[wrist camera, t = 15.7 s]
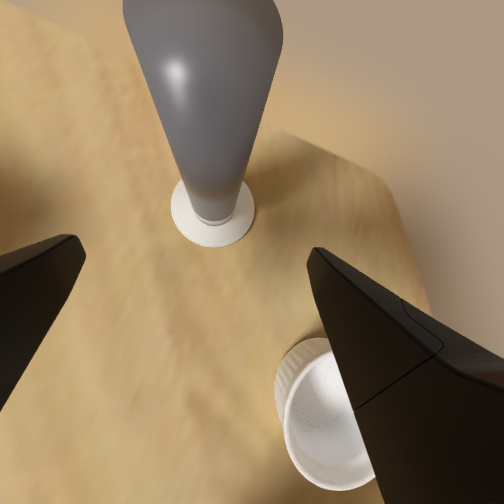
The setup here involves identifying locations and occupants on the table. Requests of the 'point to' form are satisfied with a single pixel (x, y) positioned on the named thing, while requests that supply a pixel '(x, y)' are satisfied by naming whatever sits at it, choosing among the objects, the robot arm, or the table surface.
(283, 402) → the ramekin
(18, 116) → the table surface
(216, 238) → the pad
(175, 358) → the table surface
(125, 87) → the table surface
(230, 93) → the grey tapered rod
